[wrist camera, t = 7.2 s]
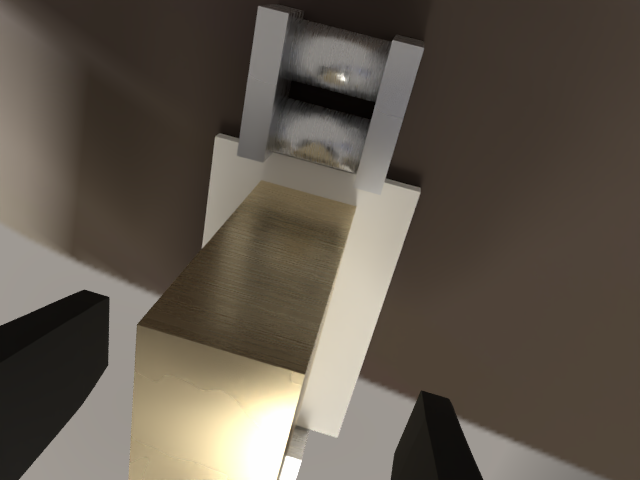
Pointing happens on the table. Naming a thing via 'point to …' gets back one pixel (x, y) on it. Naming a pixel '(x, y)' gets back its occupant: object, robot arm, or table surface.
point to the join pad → (355, 270)
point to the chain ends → (319, 122)
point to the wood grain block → (237, 341)
